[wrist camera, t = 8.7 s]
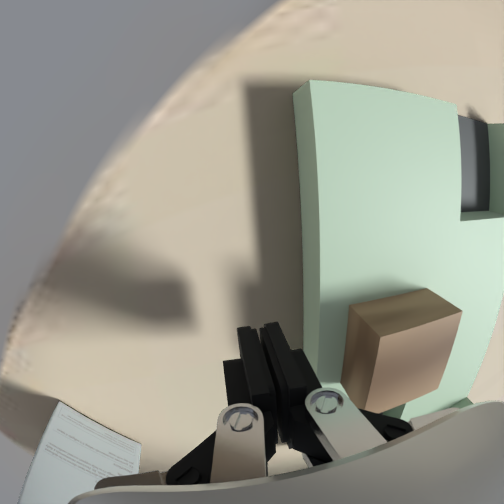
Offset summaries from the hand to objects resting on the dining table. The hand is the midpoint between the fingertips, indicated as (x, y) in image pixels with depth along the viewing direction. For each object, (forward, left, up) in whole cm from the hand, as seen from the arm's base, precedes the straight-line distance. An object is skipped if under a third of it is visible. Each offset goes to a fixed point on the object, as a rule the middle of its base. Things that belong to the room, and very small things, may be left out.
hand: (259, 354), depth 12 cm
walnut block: (-2, -7, -1) cm, 7 cm away
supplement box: (-11, +14, -4) cm, 18 cm away
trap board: (-1, -11, -4) cm, 12 cm away
